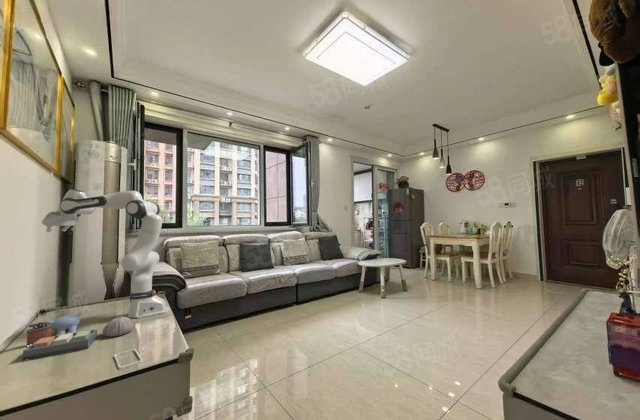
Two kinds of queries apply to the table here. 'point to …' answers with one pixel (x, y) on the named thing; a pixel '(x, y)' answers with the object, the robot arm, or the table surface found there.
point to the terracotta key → (44, 342)
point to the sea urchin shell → (118, 326)
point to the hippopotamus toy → (65, 323)
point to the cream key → (63, 338)
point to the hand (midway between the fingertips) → (55, 231)
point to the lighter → (38, 332)
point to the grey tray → (59, 347)
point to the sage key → (81, 335)
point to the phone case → (128, 364)
